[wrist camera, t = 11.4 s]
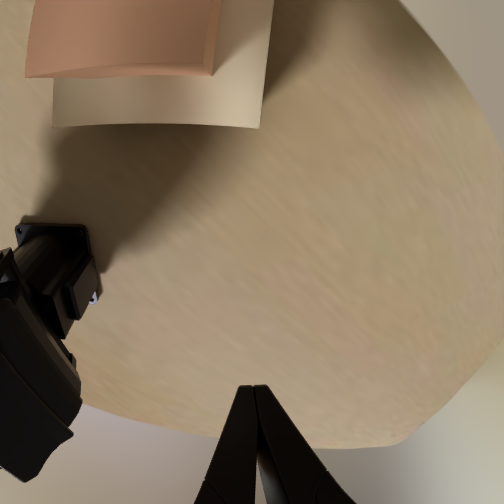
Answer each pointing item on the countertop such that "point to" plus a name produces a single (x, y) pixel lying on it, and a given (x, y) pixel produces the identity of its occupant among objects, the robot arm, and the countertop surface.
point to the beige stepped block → (182, 82)
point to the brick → (122, 38)
